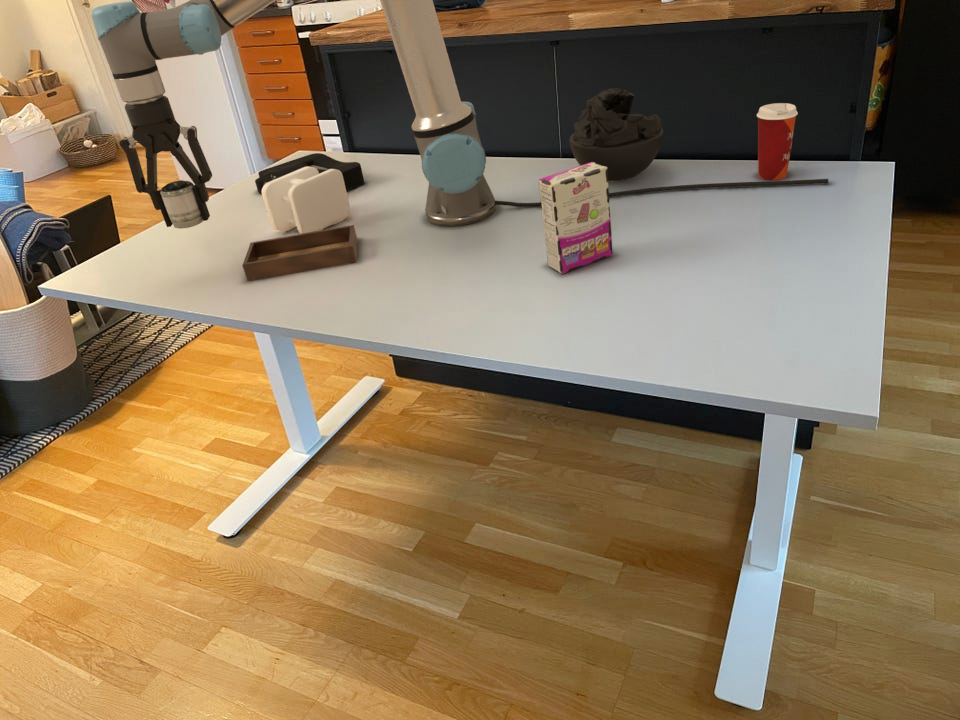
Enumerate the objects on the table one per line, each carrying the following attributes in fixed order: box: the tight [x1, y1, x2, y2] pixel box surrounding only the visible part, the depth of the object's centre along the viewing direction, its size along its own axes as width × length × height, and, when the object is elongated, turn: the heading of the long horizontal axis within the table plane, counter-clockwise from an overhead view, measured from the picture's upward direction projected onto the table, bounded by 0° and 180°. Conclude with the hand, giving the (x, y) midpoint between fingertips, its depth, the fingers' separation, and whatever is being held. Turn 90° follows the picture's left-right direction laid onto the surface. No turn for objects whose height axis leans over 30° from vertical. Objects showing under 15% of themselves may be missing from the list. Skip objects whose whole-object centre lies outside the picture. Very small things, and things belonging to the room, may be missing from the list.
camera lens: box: [160, 179, 204, 230], centre depth 142 cm, size 6×6×8 cm
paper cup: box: [756, 102, 799, 181], centre depth 152 cm, size 8×8×14 cm
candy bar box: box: [538, 162, 613, 275], centre depth 129 cm, size 11×5×16 cm, turn 117°
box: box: [242, 224, 358, 282], centre depth 150 cm, size 22×12×4 cm, turn 97°
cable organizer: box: [261, 167, 351, 234], centre depth 164 cm, size 15×11×12 cm
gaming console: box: [254, 152, 365, 195], centre depth 189 cm, size 27×20×7 cm
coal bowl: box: [569, 87, 664, 182], centre depth 162 cm, size 20×20×19 cm
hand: (188, 221), depth 144 cm, fingers closed on camera lens, 6 cm apart
